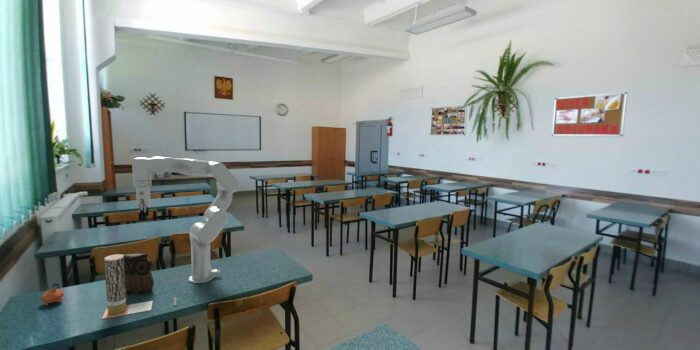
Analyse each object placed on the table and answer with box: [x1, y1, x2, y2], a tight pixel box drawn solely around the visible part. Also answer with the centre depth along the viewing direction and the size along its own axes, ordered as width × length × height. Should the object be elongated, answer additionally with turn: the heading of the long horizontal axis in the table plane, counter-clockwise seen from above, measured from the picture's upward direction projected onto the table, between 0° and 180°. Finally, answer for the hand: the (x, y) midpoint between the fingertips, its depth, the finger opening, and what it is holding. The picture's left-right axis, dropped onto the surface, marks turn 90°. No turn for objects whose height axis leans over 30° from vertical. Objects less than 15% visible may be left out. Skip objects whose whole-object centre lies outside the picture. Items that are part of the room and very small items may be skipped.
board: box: [101, 296, 177, 320], centre depth 150 cm, size 28×9×1 cm, turn 117°
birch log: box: [104, 253, 127, 314], centre depth 145 cm, size 7×7×25 cm
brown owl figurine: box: [121, 253, 155, 296], centre depth 164 cm, size 13×13×20 cm
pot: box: [40, 288, 65, 306], centre depth 152 cm, size 8×8×7 cm
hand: (143, 218), depth 159 cm, fingers open, 9 cm apart
